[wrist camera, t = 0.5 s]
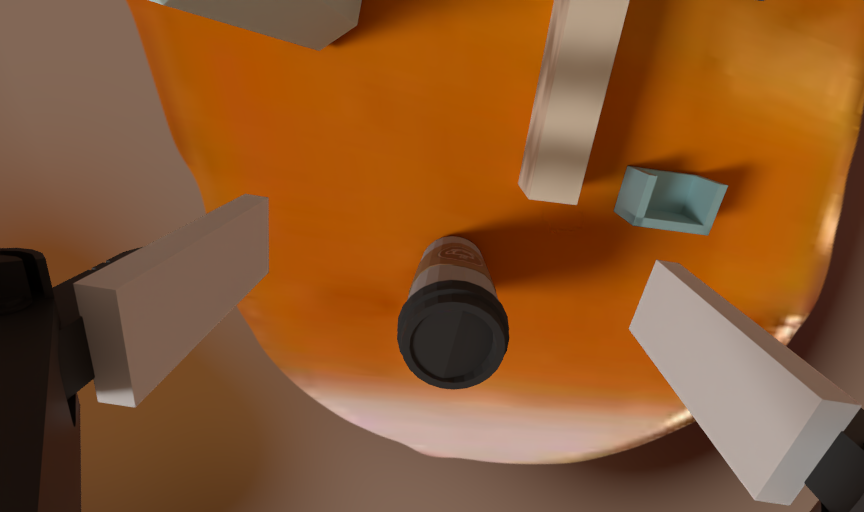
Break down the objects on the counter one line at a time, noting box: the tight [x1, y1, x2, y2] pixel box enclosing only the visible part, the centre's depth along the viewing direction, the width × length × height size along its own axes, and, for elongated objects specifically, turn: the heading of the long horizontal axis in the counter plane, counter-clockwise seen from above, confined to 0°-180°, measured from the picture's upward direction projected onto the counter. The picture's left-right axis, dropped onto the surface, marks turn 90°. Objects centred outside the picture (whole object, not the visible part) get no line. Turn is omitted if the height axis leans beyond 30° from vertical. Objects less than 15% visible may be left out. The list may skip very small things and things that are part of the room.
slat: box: [518, 0, 630, 205], centre depth 33 cm, size 20×4×6 cm, turn 174°
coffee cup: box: [397, 236, 509, 389], centre depth 35 cm, size 8×8×15 cm
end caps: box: [614, 0, 764, 235], centre depth 33 cm, size 23×7×4 cm, turn 173°
